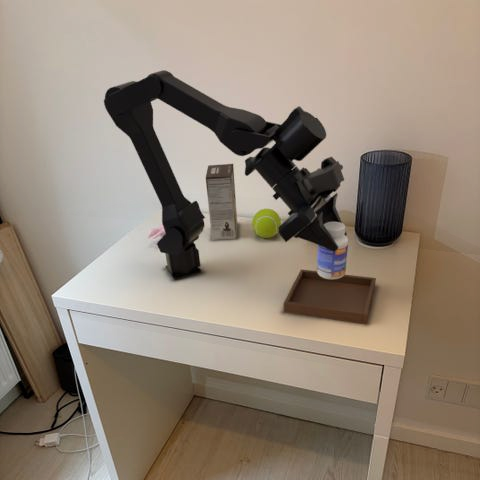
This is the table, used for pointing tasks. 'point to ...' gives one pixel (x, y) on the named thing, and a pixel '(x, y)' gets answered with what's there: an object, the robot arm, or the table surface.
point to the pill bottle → (333, 253)
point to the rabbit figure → (157, 232)
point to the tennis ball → (266, 223)
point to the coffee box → (222, 201)
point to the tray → (331, 297)
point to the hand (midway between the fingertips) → (340, 243)
